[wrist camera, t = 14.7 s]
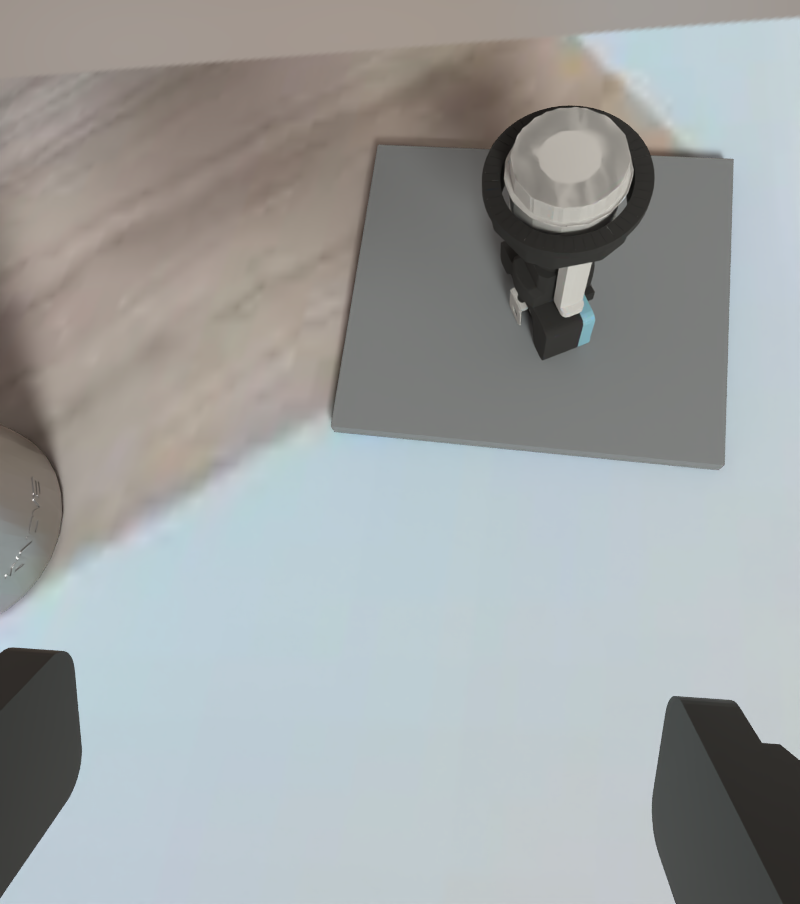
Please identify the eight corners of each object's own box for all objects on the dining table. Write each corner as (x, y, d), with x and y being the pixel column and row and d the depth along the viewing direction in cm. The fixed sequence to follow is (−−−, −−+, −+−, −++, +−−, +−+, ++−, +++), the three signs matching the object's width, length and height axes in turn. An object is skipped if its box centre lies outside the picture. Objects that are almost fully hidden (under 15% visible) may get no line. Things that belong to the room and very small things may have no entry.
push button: (455, 253, 33) (439, 89, 24) (567, 208, 33) (597, 27, 24) (513, 382, 31) (521, 261, 22) (631, 336, 31) (693, 194, 22)
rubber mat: (334, 431, 33) (330, 426, 32) (380, 155, 36) (377, 144, 35) (718, 470, 30) (724, 465, 29) (728, 170, 34) (733, 158, 33)
